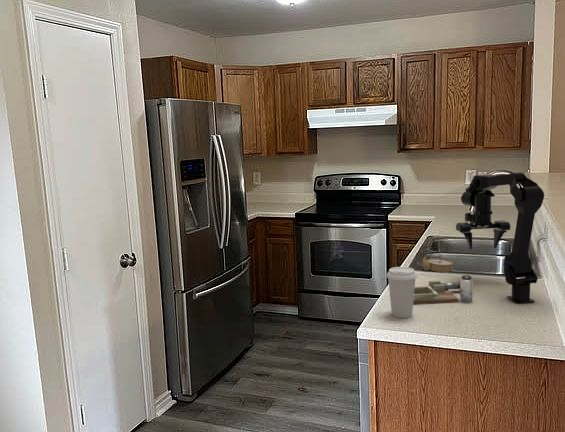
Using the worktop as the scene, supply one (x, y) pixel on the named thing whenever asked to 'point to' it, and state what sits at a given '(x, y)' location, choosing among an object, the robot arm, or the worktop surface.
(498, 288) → the worktop surface
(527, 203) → the robot arm
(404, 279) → the coffee cup
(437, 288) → the tray
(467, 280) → the grey cylinder
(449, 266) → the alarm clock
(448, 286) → the lock pin
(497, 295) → the worktop surface
